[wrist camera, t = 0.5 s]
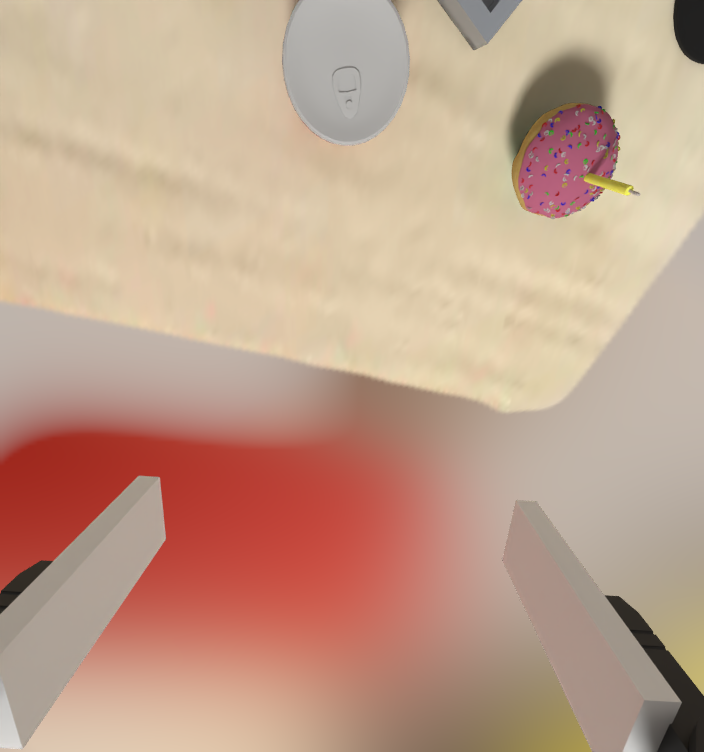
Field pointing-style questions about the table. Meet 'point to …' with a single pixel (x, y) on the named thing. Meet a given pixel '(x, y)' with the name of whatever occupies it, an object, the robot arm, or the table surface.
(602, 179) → the cupcake
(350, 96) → the canned food
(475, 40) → the tray
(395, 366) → the table surface
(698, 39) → the wine glass
